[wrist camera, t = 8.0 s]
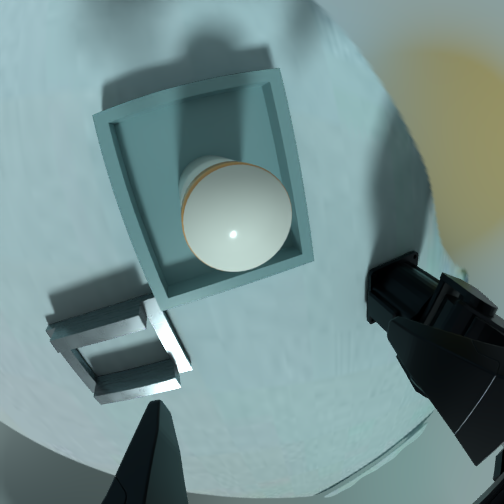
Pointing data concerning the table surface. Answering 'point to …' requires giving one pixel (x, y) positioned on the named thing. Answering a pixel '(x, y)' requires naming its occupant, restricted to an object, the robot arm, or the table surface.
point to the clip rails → (112, 326)
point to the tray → (184, 152)
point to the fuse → (233, 212)
